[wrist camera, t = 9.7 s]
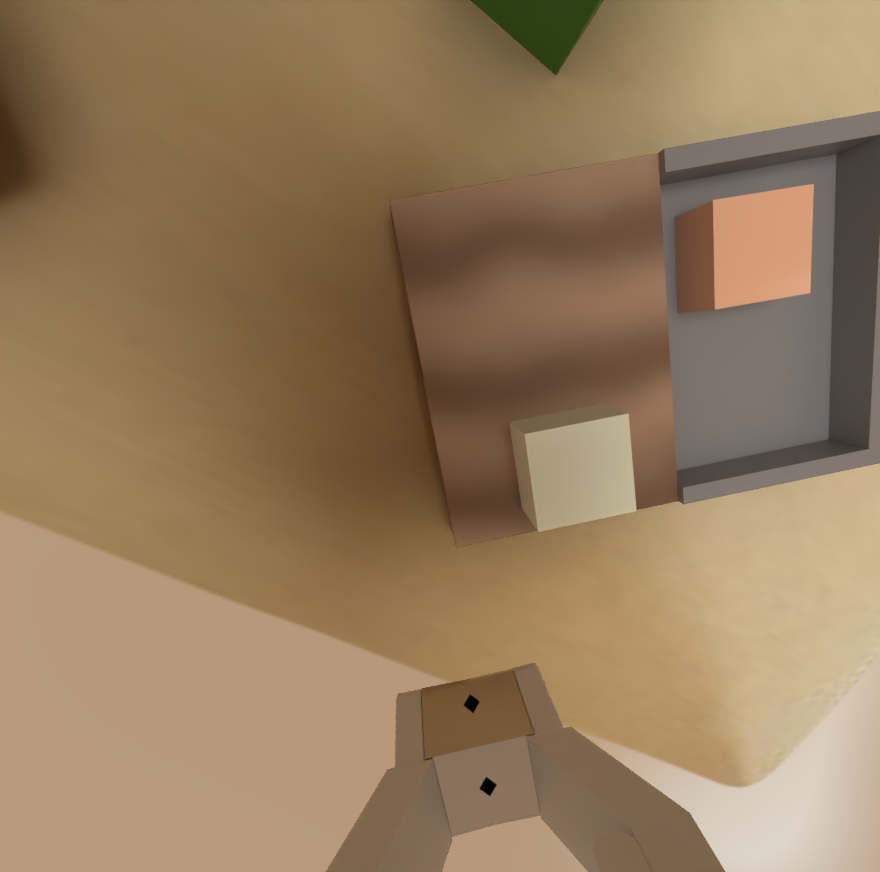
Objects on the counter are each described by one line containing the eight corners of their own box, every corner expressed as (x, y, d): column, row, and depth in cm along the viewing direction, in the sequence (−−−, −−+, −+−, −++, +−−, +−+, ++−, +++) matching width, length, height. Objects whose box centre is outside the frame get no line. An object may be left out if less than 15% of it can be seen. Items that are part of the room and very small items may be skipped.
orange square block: (674, 217, 23) (712, 199, 20) (762, 203, 24) (813, 183, 21) (677, 313, 24) (714, 309, 22) (762, 298, 25) (810, 293, 22)
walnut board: (391, 215, 23) (389, 200, 20) (631, 172, 23) (658, 153, 21) (451, 528, 27) (456, 547, 24) (653, 486, 27) (678, 500, 25)
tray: (631, 172, 23) (664, 148, 20) (843, 135, 24) (905, 106, 21) (653, 486, 27) (683, 504, 24) (834, 449, 28) (884, 462, 25)
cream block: (509, 421, 23) (524, 434, 20) (600, 404, 23) (628, 413, 20) (521, 508, 24) (538, 532, 21) (608, 490, 24) (636, 511, 21)
